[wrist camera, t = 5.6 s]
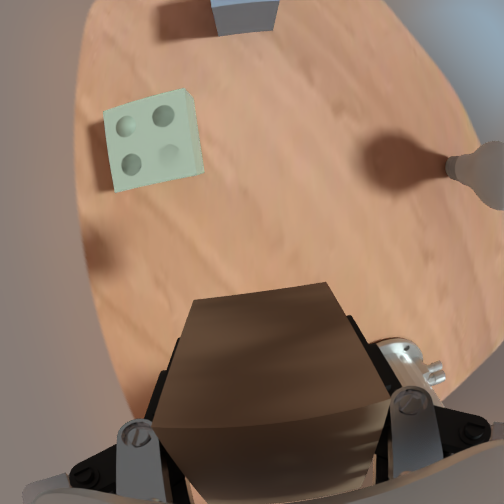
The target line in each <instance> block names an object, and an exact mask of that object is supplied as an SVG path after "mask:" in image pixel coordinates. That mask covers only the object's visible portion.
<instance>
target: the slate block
mask: <svg viewBox="0 0 504 504" xmlns="http://www.w3.org/2000/svg"><path fill="white" fill-rule="evenodd" d="M279 1H280V0H211V7H212V11H213V15H214V19H215V23H216V28H217V32H218V36H225V35H233V34H240V33H249V32H260V31H273V28H274V23H275V19H276V14H277V10H278V5H279Z"/></svg>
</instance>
